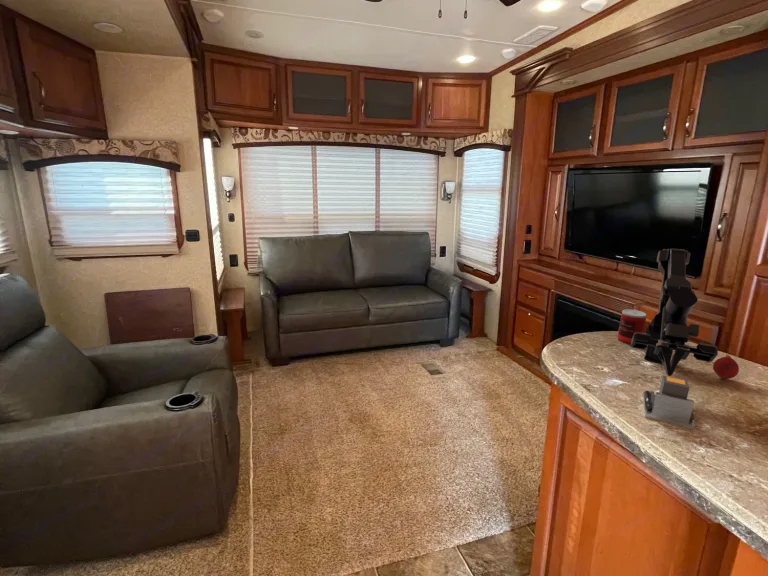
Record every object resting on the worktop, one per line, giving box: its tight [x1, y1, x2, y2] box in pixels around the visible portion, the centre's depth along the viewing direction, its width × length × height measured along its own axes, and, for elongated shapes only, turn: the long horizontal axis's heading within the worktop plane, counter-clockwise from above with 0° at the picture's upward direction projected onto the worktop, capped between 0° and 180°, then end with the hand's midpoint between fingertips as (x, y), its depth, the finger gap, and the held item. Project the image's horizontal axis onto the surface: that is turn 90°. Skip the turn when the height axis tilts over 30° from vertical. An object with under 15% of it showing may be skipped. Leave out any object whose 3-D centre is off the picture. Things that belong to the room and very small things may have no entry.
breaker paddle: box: [659, 375, 690, 399], centre depth 98 cm, size 4×5×9 cm
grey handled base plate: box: [642, 390, 696, 431], centre depth 100 cm, size 12×10×7 cm
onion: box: [712, 353, 740, 381], centre depth 117 cm, size 6×6×8 cm
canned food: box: [617, 308, 647, 345], centre depth 145 cm, size 8×8×11 cm
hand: (669, 375), depth 105 cm, fingers closed
